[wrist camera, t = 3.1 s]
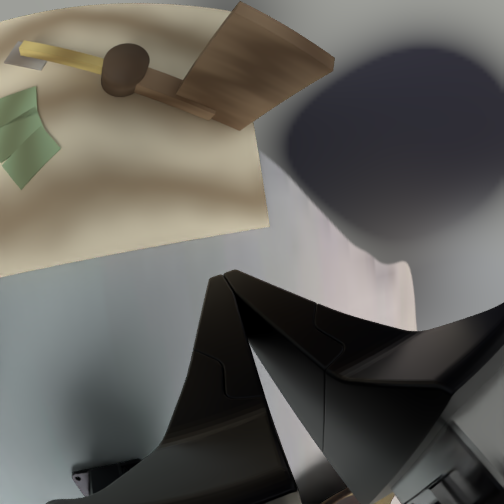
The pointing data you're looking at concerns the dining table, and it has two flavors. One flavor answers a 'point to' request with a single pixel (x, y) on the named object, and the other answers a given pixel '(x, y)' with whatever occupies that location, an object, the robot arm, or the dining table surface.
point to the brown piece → (212, 69)
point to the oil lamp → (353, 498)
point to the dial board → (114, 143)
